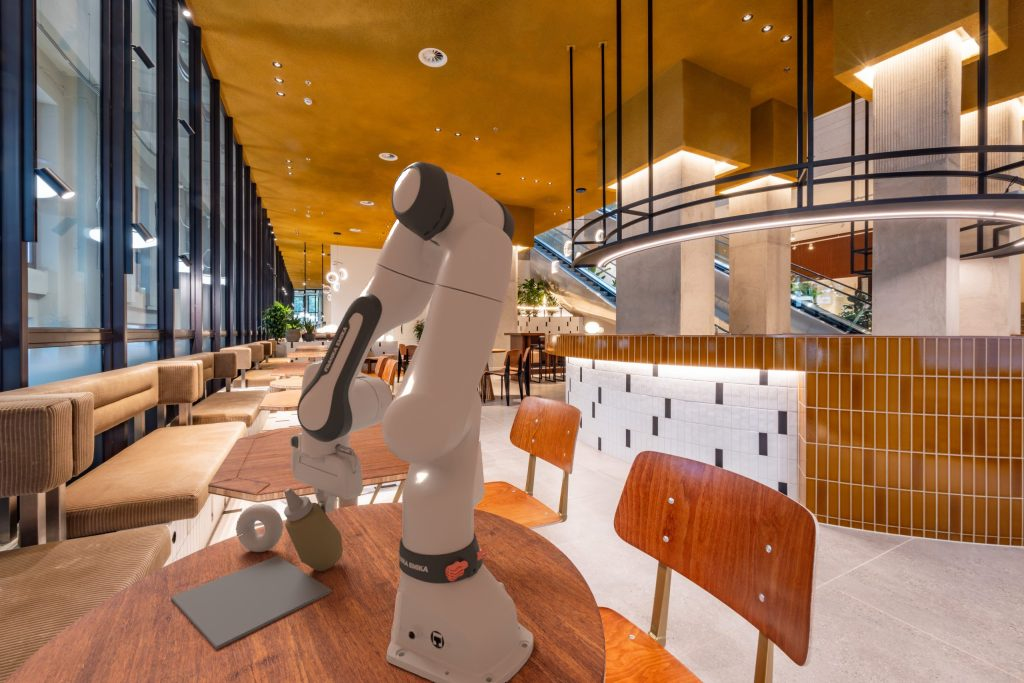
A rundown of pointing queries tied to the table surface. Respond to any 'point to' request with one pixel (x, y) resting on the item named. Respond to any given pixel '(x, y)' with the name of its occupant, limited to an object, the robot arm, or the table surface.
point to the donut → (250, 536)
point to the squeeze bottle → (312, 532)
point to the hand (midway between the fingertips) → (325, 510)
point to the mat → (248, 599)
